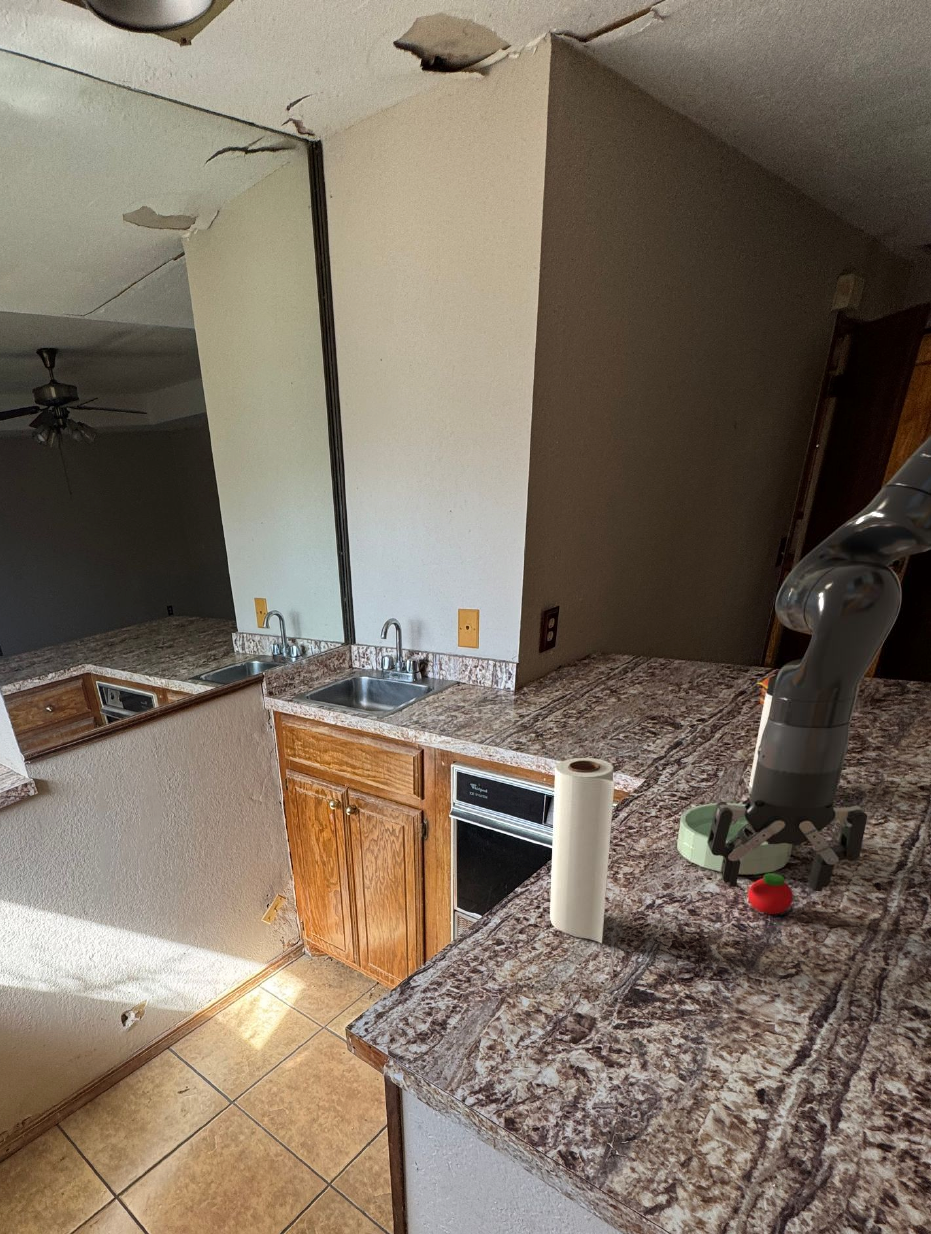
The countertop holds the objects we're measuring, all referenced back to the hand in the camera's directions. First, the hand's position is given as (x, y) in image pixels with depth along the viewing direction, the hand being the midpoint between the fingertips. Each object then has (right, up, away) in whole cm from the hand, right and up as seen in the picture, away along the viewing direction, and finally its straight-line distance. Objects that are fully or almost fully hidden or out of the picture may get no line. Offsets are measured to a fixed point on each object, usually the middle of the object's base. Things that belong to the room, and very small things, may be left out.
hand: (771, 885), depth 77 cm
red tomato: (+1, -3, +2) cm, 4 cm away
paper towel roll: (-22, -6, +4) cm, 23 cm away
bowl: (+4, +3, +14) cm, 15 cm away
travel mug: (+21, +13, +29) cm, 38 cm away
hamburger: (+49, +35, +64) cm, 88 cm away
